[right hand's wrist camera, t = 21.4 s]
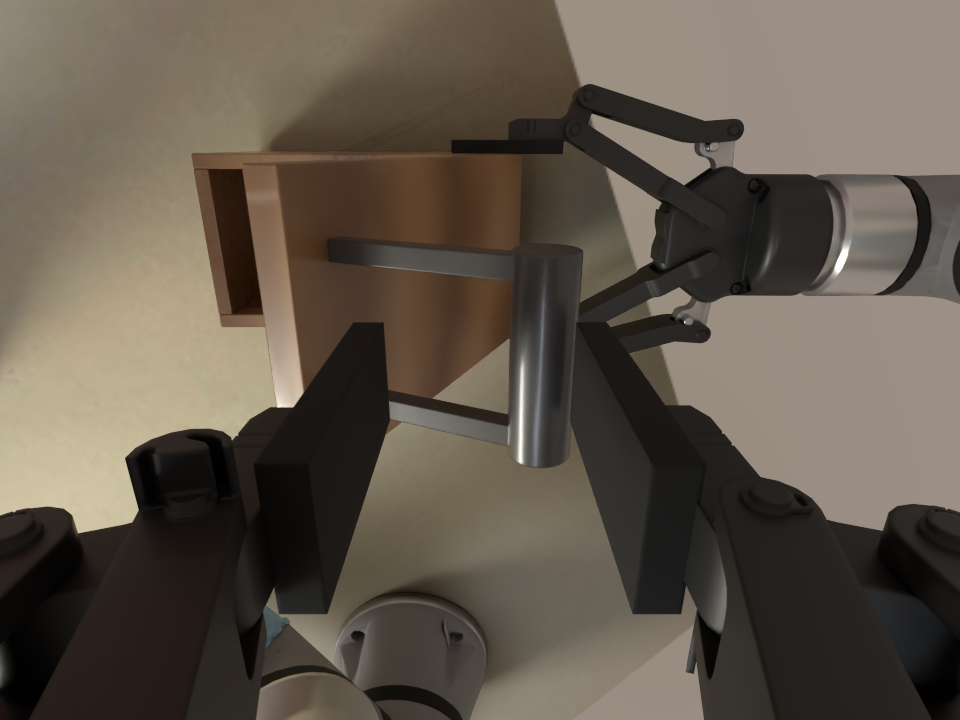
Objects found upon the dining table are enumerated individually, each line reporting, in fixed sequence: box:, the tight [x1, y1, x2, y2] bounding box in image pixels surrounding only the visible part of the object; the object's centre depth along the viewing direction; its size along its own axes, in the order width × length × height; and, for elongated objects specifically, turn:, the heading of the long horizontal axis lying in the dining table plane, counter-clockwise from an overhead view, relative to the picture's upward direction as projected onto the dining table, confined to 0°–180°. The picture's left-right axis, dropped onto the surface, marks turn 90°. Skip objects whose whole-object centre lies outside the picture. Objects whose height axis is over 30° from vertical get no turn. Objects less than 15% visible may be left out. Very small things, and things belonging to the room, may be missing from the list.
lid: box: [242, 154, 583, 468], centre depth 22 cm, size 18×10×9 cm
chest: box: [192, 151, 508, 327], centre depth 37 cm, size 17×10×10 cm, turn 90°
